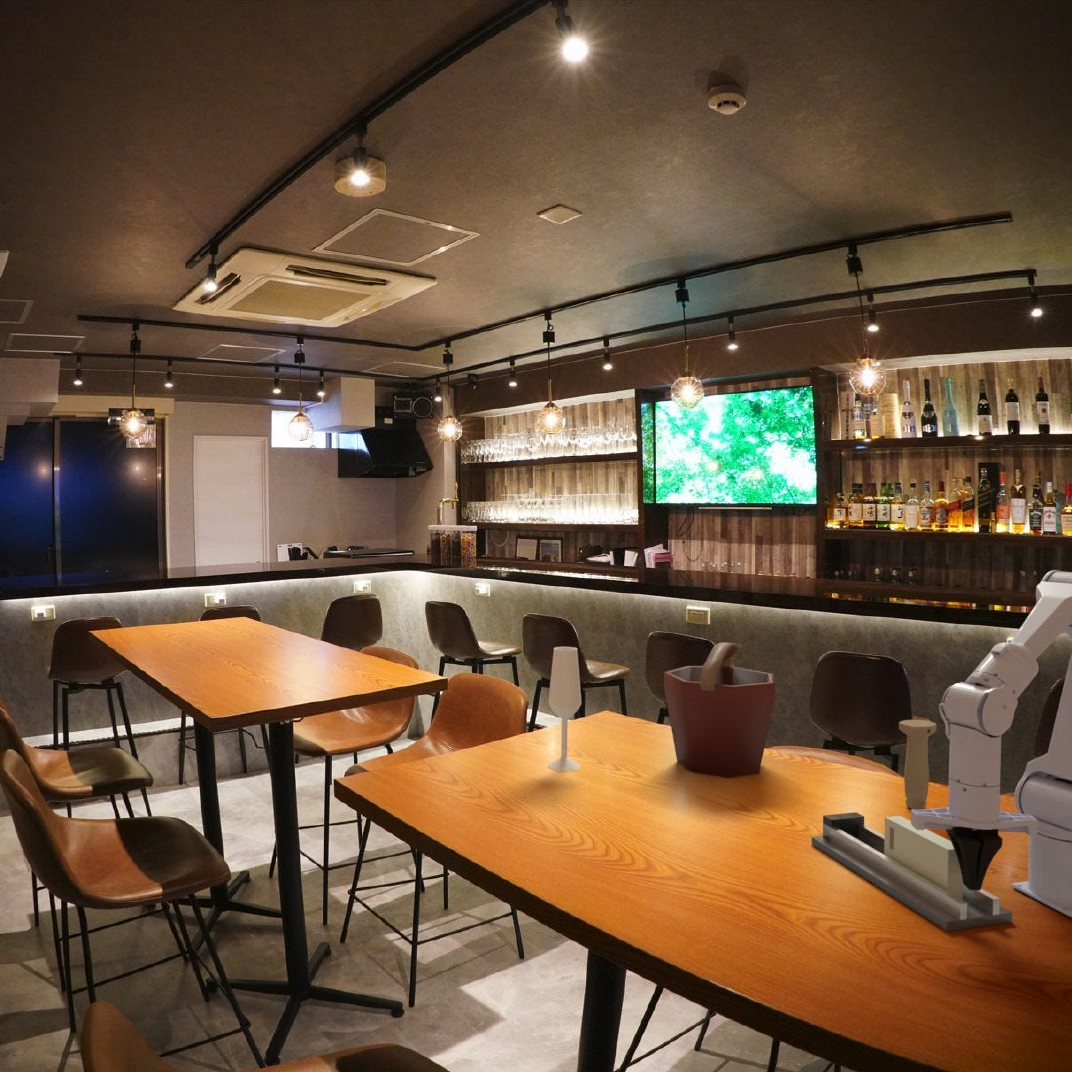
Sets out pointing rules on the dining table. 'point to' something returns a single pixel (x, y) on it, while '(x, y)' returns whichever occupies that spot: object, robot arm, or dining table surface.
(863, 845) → the rail
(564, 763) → the champagne flute
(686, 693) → the bucket
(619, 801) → the dining table surface
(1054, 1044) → the dining table surface
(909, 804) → the handle
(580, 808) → the dining table surface
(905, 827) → the door panel
